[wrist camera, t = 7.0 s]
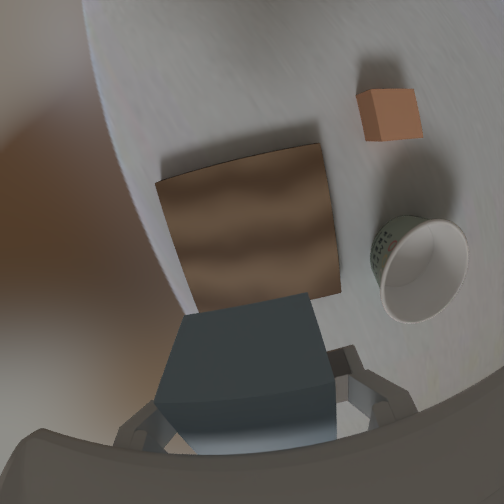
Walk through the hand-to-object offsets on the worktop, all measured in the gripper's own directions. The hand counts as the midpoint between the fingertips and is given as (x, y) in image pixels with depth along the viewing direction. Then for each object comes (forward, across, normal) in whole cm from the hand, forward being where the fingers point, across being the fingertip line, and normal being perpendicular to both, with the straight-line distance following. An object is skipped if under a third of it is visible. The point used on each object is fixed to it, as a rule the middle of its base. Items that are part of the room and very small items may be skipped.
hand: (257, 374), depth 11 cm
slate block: (+2, 0, 0) cm, 2 cm away
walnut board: (+19, 0, 0) cm, 19 cm away
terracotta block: (+19, -16, -10) cm, 27 cm away
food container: (+19, -17, +6) cm, 26 cm away
